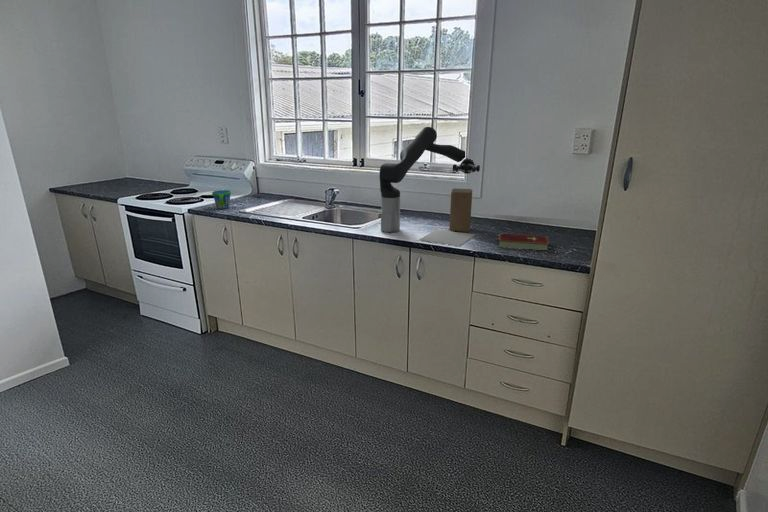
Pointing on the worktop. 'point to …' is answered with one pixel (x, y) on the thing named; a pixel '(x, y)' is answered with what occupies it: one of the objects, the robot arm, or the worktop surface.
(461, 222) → the wooden block
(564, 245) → the worktop surface
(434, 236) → the grey mat
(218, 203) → the snack cup
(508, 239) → the hardcover book
